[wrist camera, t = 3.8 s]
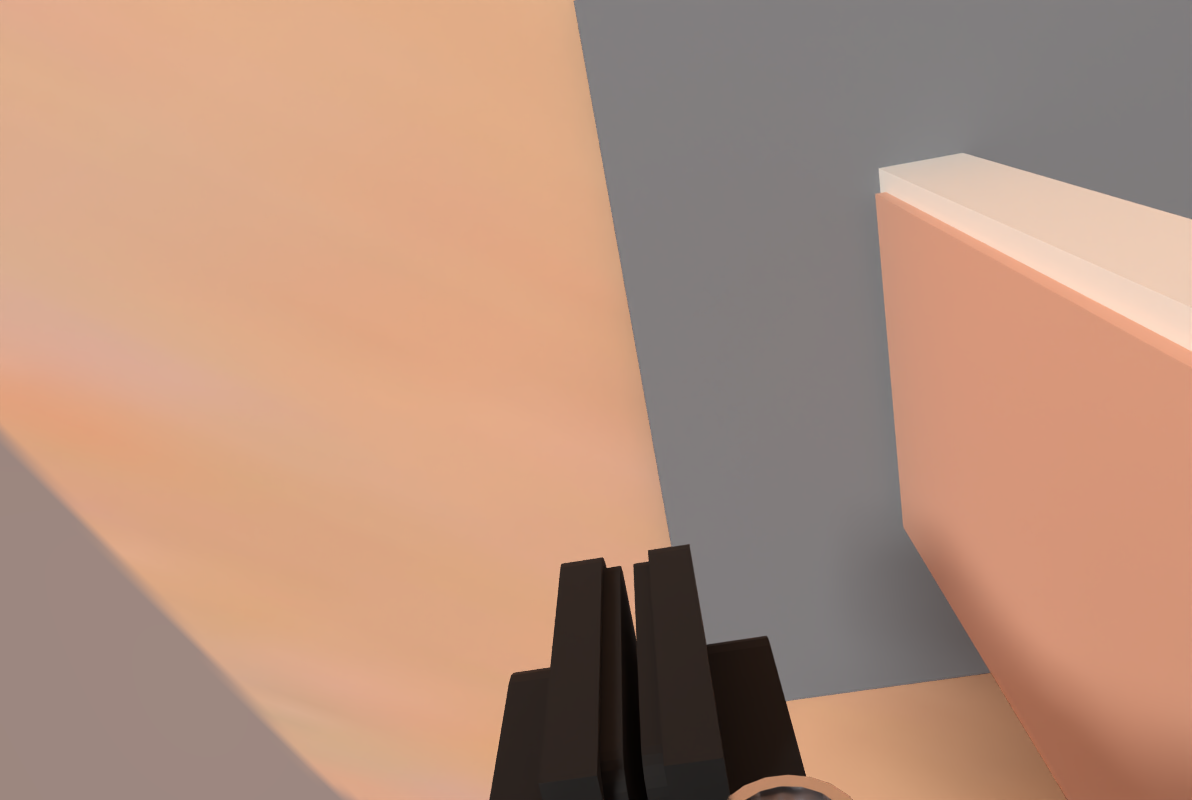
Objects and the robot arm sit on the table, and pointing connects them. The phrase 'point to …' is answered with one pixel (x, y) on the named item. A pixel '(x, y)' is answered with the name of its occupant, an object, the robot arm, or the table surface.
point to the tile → (1051, 452)
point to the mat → (834, 269)
